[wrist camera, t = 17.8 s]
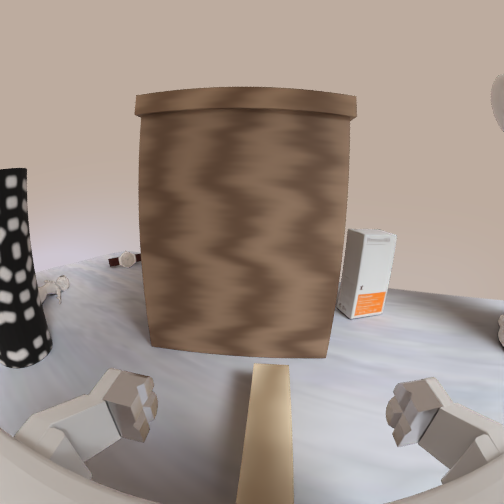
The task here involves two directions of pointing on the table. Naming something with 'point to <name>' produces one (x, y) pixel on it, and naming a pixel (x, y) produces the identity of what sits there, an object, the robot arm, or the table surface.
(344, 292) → the skincare box
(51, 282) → the woman figurine
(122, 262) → the watch
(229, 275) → the stand
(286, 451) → the rod
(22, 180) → the white-spotted black cylinder
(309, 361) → the table surface
